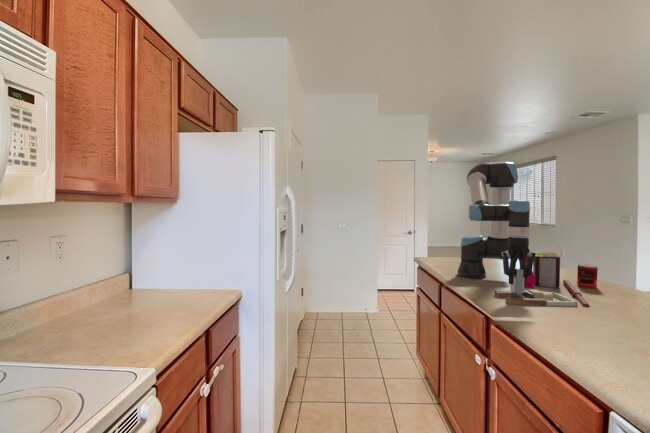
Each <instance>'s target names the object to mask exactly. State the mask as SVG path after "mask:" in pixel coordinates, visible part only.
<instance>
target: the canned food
mask: <svg viewBox="0 0 650 433" xmlns="http://www.w3.org/2000/svg"><path fill="white" fill-rule="evenodd" d="M598 268H599V267H598V265H596V264H591V263H578V264H577V274H576V276H577V278H576V279H577V280H576V282H577V286H578V287H580V288H582V287H583V288H584V289H589V290H594V289H596V288H598V272H599V271H598V270H599V269H598ZM583 288H582V289H583Z"/></svg>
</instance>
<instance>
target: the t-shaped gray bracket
mask: <svg viewBox="0 0 650 433" xmlns="http://www.w3.org/2000/svg"><path fill="white" fill-rule="evenodd" d="M514 277H516V293H513V292H512V298H534V294H533V293H531V292H529V291H528V289H527V290H525V289H524V293H523V269H521V268H520V267H515V273H514Z"/></svg>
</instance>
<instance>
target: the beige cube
mask: <svg viewBox="0 0 650 433" xmlns="http://www.w3.org/2000/svg"><path fill="white" fill-rule="evenodd" d="M527 291H529V292H531V293H533V294H534V298H542V299H543V292H544V291H541V290H539V289H527Z"/></svg>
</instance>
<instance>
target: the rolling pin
mask: <svg viewBox="0 0 650 433" xmlns="http://www.w3.org/2000/svg"><path fill="white" fill-rule="evenodd" d="M562 283H563V284H564V286H566V288H567V289H568V290H569V292H570V293H571V295H572V297H573V299H575V298H576V299H575V300H577V302H579V304H580V305H581V306H582V307H584V308H585V307H586V308H590V307H591V306H590V304H589V303H588V302H587V301H586V300H585V299H584V297H583V295H582V293H581V292H579V291H577V289H576V288H575V287H574V286H573V284H571V282H570V281H569V280H568V279H563V281H562Z"/></svg>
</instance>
